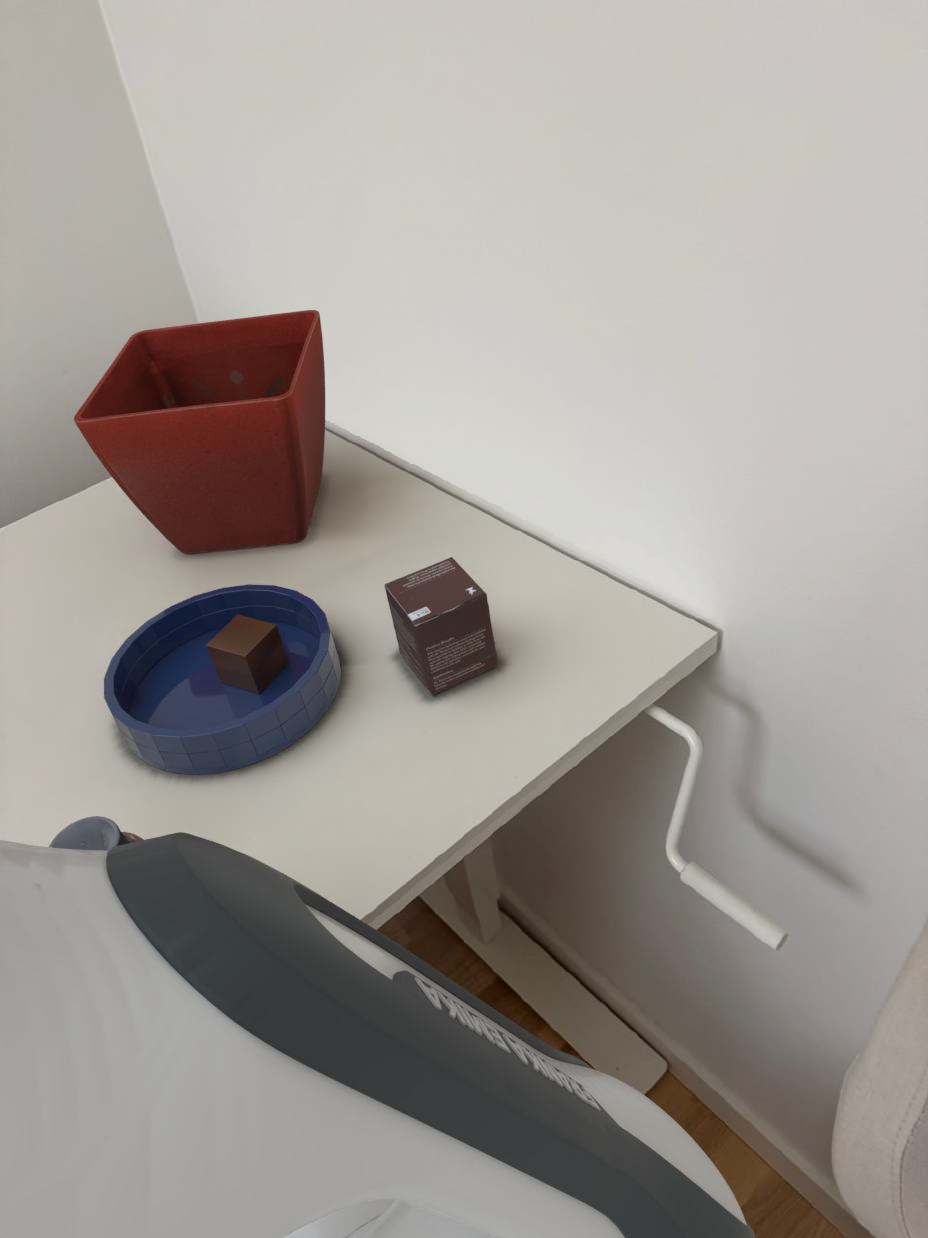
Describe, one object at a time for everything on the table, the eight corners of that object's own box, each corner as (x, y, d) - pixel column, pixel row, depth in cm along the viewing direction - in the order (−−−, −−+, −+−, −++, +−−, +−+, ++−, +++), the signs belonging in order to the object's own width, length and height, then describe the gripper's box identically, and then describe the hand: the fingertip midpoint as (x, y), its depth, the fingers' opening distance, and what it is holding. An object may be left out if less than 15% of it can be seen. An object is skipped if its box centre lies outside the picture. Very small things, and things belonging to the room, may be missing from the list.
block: (259, 694, 75) (245, 656, 72) (220, 682, 76) (205, 645, 74) (289, 662, 77) (276, 624, 75) (251, 651, 79) (237, 614, 77)
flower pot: (334, 560, 89) (289, 394, 78) (138, 580, 91) (68, 420, 80) (356, 458, 104) (320, 306, 93) (187, 477, 106) (133, 330, 95)
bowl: (250, 803, 67) (233, 764, 64) (75, 738, 75) (55, 701, 72) (382, 646, 78) (372, 608, 76) (218, 604, 86) (205, 568, 83)
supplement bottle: (172, 900, 61) (107, 782, 54) (222, 955, 58) (159, 836, 50) (88, 964, 58) (8, 849, 51) (136, 1026, 55) (56, 911, 48)
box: (466, 627, 79) (453, 554, 74) (500, 667, 74) (489, 593, 70) (399, 655, 77) (381, 583, 72) (429, 698, 72) (413, 624, 68)
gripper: (530, 1070, 41) (355, 872, 50) (73, 1476, 32) (-37, 1147, 41) (543, 1135, 44) (378, 941, 54) (138, 1512, 36) (25, 1204, 45)
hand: (195, 1033), depth 47 cm, fingers open, 8 cm apart
